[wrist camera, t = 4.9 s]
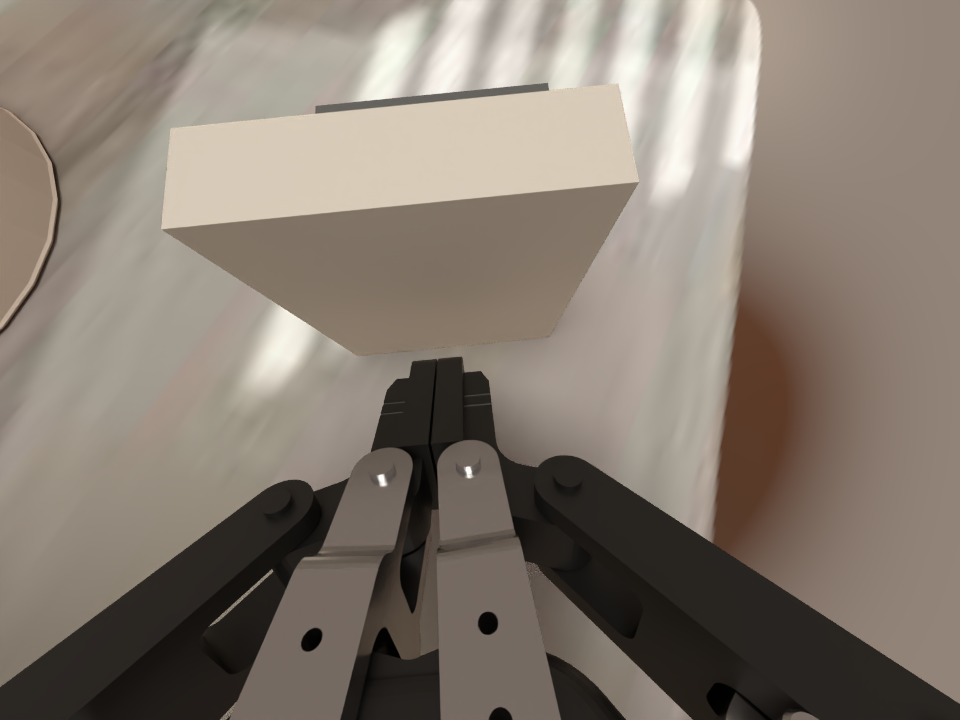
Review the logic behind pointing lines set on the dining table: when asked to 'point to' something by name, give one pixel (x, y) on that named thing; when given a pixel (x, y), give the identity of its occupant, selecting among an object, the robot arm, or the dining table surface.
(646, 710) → the dining table surface
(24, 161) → the kettle
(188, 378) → the dining table surface
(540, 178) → the tile
